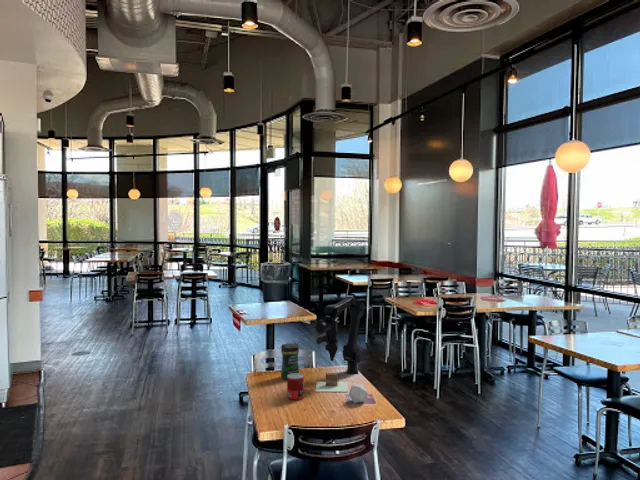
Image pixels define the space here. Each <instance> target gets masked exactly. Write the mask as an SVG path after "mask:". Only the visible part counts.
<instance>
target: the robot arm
mask: <svg viewBox="0 0 640 480" xmlns="http://www.w3.org/2000/svg"><path fill="white" fill-rule="evenodd" d="M348 308H349V314H350V316H351V317H350V323H349V324H350V325H349V332H348V338H347V342H346V344H344V345H343V346H342V358H343V361H344V362H346V363H347V364H346V366H347V369H346V374H359V368H358V363H361V362H362V356H361V355H360V353H359V347H358V344H357V342H358V335H359V327H360V321H361V319H362V317H363V316H364V314H365V310H366V305H365V304H364V302H362V301H360V300H359V299H357V298H356V297H354V296H346V297H345V298H343V299H342V300H340V301H338V302H337V303H334V304H328V305H326V306H325V307H324V309H323V312H322V314H321V316H320V319H319V320H318V322H317V323H316V325H315V331H316V332H317V334H321V335H319V336H318V335H317V336H316V337H315V341H316V344H317V345H320V344H323V343H326V344H325V348H324V349H325V351H327V352H328V353H329V354H328V355H329V358H330V359H329V360H330V361H331V362H333V361H334V359H335V356H336V354H337V352H338V346H339V343H338V342H339V337H338V321H340V318H339V316H341V312H342V311H344V310H346V309H348Z"/></svg>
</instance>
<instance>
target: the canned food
mask: <svg viewBox="0 0 640 480" xmlns="http://www.w3.org/2000/svg"><path fill="white" fill-rule="evenodd" d="M304 376H305V375H304V374H303V373H300V372H299V373H291V374H288V375H287V379H286V383H287V384H286V385H287V386H286V387H287V390H286V391H287V392H286V393H287V396H286V397H287V399H288V400H290V401H294V402H295V401H296V402H297V401H301V400H303V399H304V396H305V394H304V393H305V389H304V388H305V387H304V386H305V381H304V380H305V379H304V378H305V377H304Z"/></svg>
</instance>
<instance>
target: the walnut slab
mask: <svg viewBox="0 0 640 480" xmlns="http://www.w3.org/2000/svg"><path fill="white" fill-rule="evenodd" d="M338 380H339V376H338V372H325V382H326V386H338V382H339V381H338Z"/></svg>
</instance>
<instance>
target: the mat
mask: <svg viewBox="0 0 640 480" xmlns="http://www.w3.org/2000/svg"><path fill="white" fill-rule="evenodd" d="M348 388H349V387H348V381H338V386H326V381H316V386H315V391H314V392H315V393H349V392H348Z"/></svg>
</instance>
